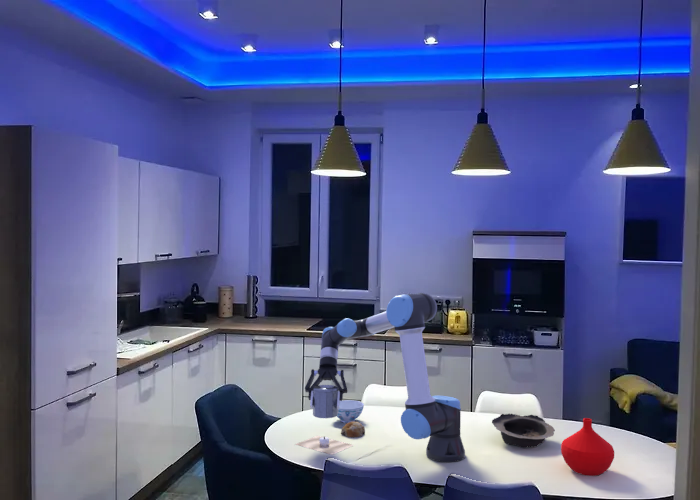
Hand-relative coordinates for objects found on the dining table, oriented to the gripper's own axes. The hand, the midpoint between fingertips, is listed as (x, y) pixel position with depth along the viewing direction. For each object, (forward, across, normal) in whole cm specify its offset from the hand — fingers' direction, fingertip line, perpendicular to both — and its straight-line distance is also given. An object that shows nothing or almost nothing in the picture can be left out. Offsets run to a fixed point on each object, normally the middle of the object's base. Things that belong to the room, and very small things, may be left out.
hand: (324, 407), depth 251 cm
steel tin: (+1, 0, -5) cm, 5 cm away
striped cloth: (+10, 0, -14) cm, 18 cm away
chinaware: (-15, -7, -40) cm, 44 cm away
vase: (+24, -99, 0) cm, 102 cm away
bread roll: (0, -10, -25) cm, 27 cm away
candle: (+10, 0, -14) cm, 17 cm away
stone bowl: (+3, -82, -22) cm, 85 cm away
